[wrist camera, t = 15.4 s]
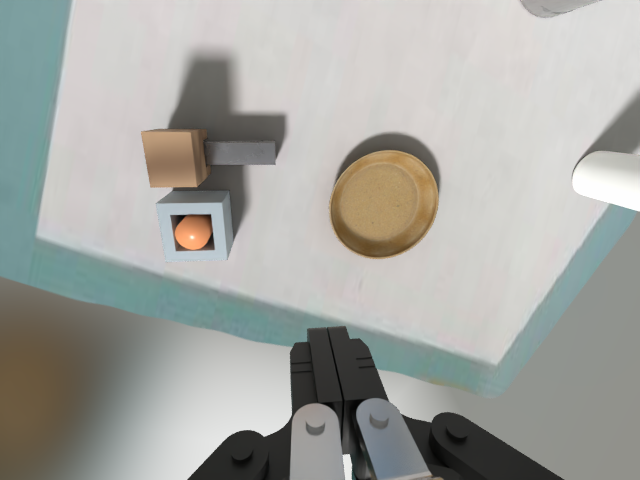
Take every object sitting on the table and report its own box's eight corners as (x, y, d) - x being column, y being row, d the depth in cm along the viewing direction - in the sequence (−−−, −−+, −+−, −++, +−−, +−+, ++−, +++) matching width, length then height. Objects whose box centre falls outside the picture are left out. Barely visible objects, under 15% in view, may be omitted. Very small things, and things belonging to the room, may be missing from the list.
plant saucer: (429, 138, 43) (438, 140, 40) (431, 241, 48) (439, 248, 46) (318, 158, 42) (321, 161, 40) (334, 260, 48) (337, 268, 45)
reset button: (186, 205, 41) (172, 219, 36) (216, 204, 42) (206, 219, 36) (190, 232, 43) (177, 250, 37) (218, 231, 43) (210, 249, 38)
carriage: (166, 127, 37) (140, 131, 30) (206, 128, 38) (190, 132, 31) (172, 173, 39) (150, 187, 32) (211, 173, 39) (197, 187, 33)
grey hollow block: (172, 191, 41) (155, 203, 36) (229, 190, 42) (221, 202, 36) (179, 242, 44) (165, 261, 38) (233, 241, 44) (227, 259, 39)
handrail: (164, 139, 39) (153, 142, 36) (275, 140, 40) (274, 143, 37) (167, 160, 40) (157, 164, 36) (275, 160, 41) (275, 164, 38)
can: (560, 184, 47) (647, 206, 36) (590, 142, 45) (691, 152, 34) (591, 202, 49) (682, 228, 38) (621, 162, 47) (726, 177, 36)
